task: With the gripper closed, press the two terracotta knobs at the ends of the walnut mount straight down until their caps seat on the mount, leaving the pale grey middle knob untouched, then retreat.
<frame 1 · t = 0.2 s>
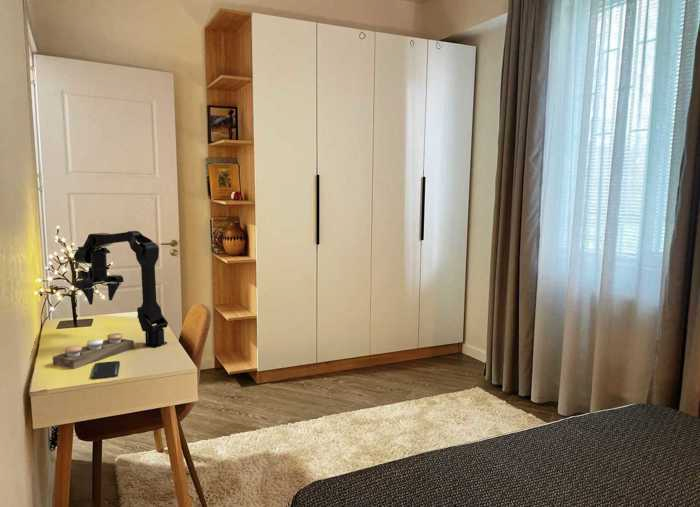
hand: (100, 302, 212), 14 cm above the table, fingers open, 9 cm apart
middle knob: (95, 346, 189), point 4 cm above the table, slide at 0.0 cm
phone: (106, 372, 174), on the table
knob 2: (115, 340, 197), point 4 cm above the table, slide at 0.0 cm
knob 1: (73, 353, 180), point 4 cm above the table, slide at 0.0 cm
knob mount: (95, 356, 189), on the table
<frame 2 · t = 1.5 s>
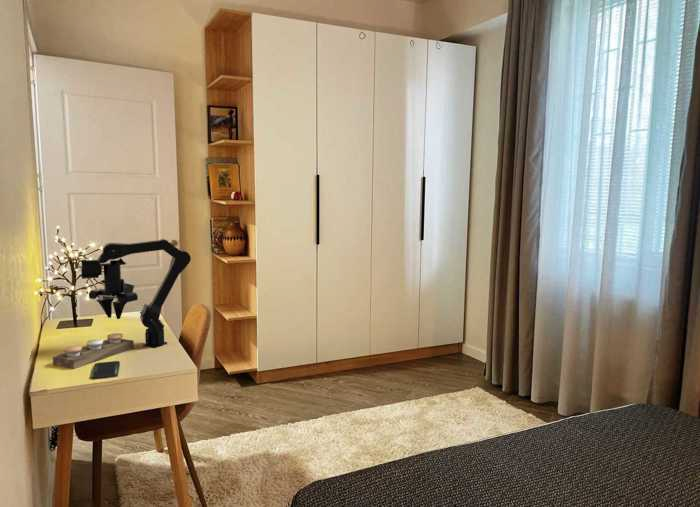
hand: (114, 318, 196), 12 cm above the table, fingers open, 4 cm apart
nothing on the table moved.
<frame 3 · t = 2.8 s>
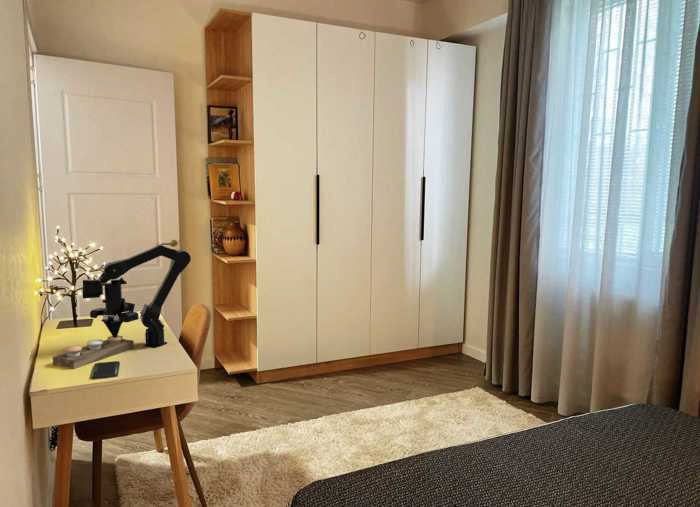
hand: (115, 337, 197), 5 cm above the table, fingers closed, pressing on knob 2
knob 2: (115, 342, 197), point 3 cm above the table, slide at 0.8 cm, touching gripper
everything else where it was.
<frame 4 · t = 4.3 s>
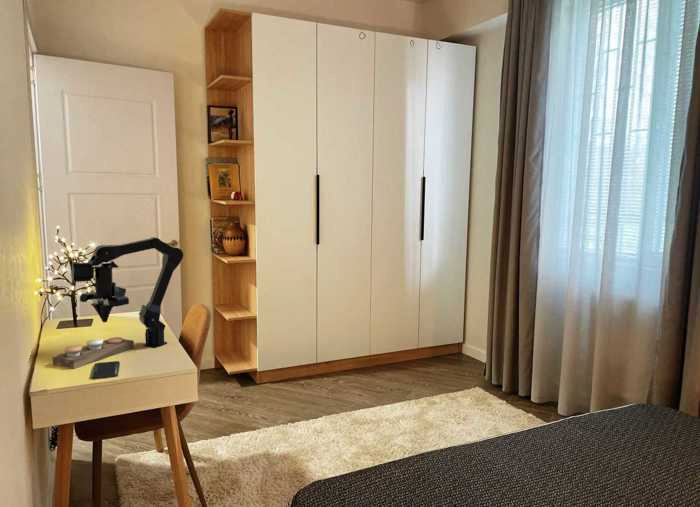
hand: (104, 322, 192), 11 cm above the table, fingers closed
knob 2: (115, 344, 197), point 2 cm above the table, slide at 1.5 cm, touching knob mount
everything else where it was.
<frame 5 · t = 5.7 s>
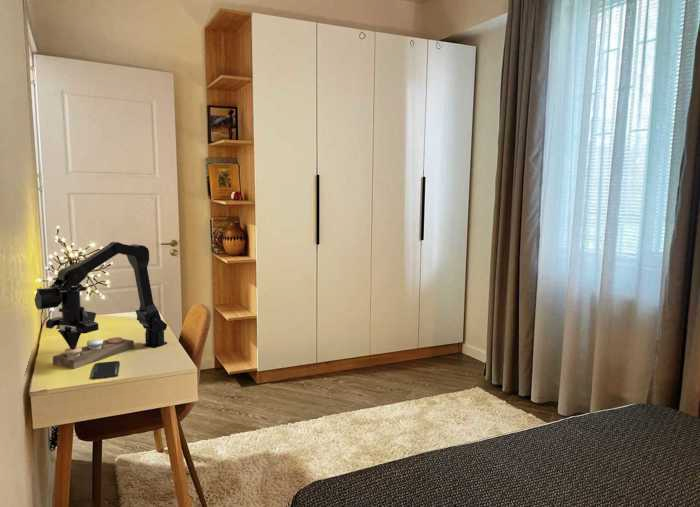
hand: (73, 349, 180), 5 cm above the table, fingers closed, pressing on knob 1
knob 1: (73, 354, 180), point 3 cm above the table, slide at 0.5 cm, touching gripper
everything else where it was.
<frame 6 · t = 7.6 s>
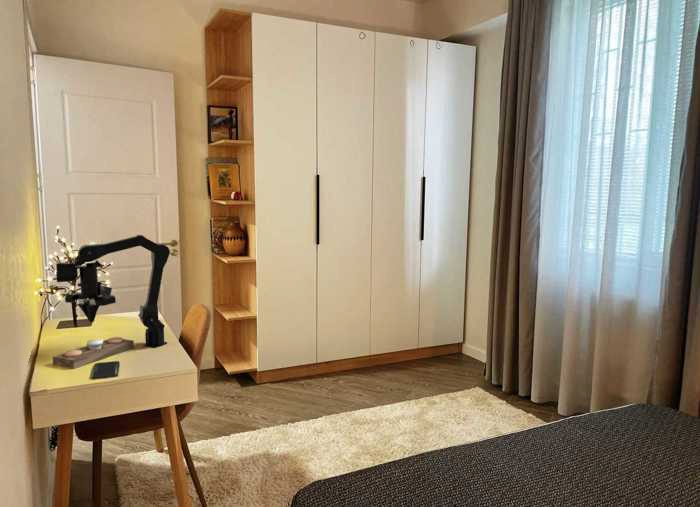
hand: (91, 321, 192), 12 cm above the table, fingers closed
knob 1: (73, 357, 181), point 2 cm above the table, slide at 1.5 cm, touching knob mount
everything else where it was.
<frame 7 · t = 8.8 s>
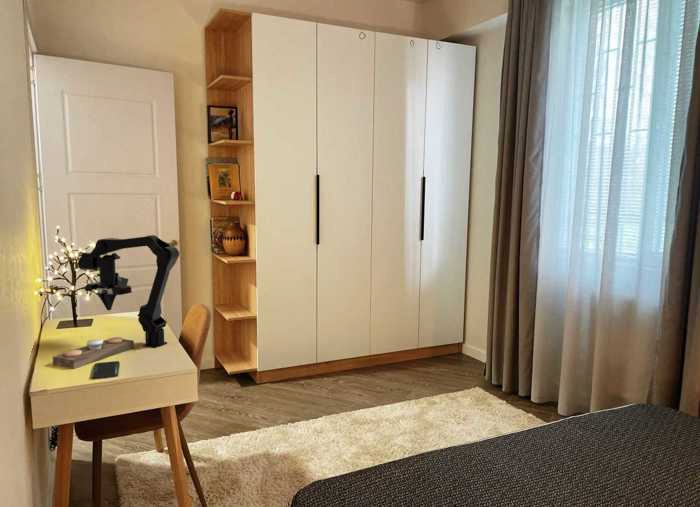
hand: (109, 310, 205), 13 cm above the table, fingers closed
nothing on the table moved.
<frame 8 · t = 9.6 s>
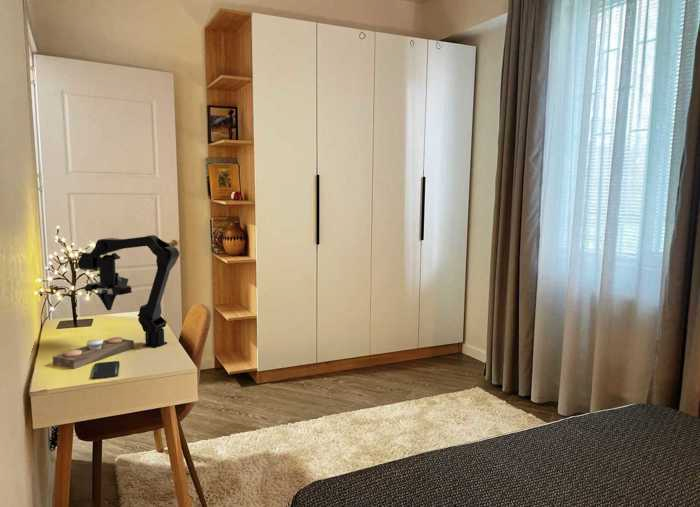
hand: (109, 310, 205), 13 cm above the table, fingers closed
nothing on the table moved.
at the end: knob 2 slide at 1.5 cm; knob 1 slide at 1.5 cm; middle knob slide at 0.0 cm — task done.
